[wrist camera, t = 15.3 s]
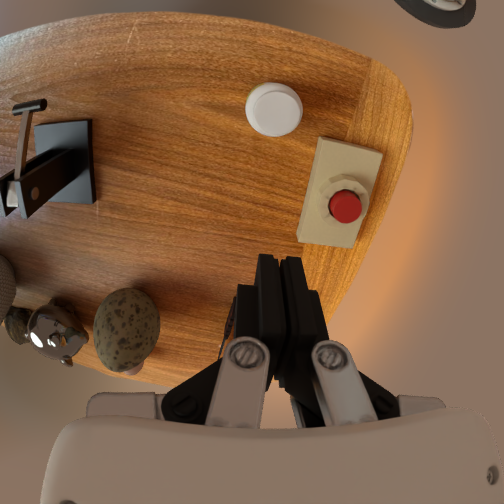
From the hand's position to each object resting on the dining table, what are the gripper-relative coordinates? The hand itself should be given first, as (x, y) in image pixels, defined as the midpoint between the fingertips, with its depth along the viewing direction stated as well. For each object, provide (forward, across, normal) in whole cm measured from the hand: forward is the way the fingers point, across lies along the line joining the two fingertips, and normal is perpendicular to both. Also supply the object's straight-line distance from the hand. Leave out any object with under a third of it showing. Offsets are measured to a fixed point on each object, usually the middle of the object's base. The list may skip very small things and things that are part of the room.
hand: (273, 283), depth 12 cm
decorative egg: (+25, +18, +27) cm, 41 cm away
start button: (+21, -11, +5) cm, 25 cm away
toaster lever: (+17, +27, -1) cm, 32 cm away
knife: (+25, +2, +33) cm, 41 cm away
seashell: (+25, +53, +42) cm, 72 cm away
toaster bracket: (+25, +27, +3) cm, 37 cm away
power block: (+25, -11, +5) cm, 28 cm away
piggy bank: (+25, +36, +35) cm, 56 cm away
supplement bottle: (+25, -1, -5) cm, 26 cm away
